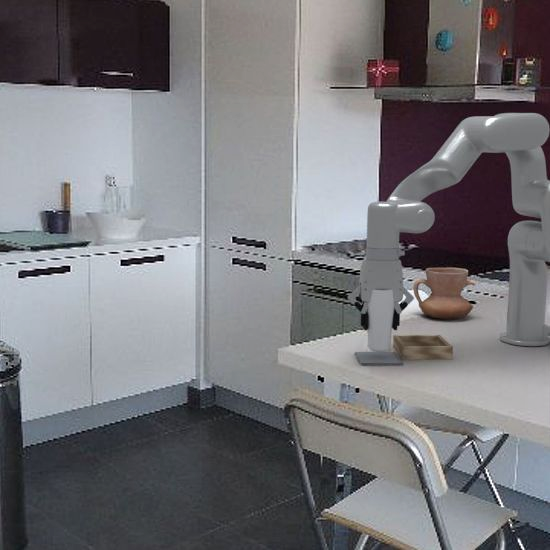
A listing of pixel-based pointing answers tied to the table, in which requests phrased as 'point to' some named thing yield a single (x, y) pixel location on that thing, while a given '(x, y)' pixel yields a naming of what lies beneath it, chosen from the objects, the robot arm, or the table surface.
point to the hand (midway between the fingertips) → (379, 328)
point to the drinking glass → (380, 320)
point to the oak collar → (422, 347)
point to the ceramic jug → (445, 293)
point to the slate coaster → (378, 358)
